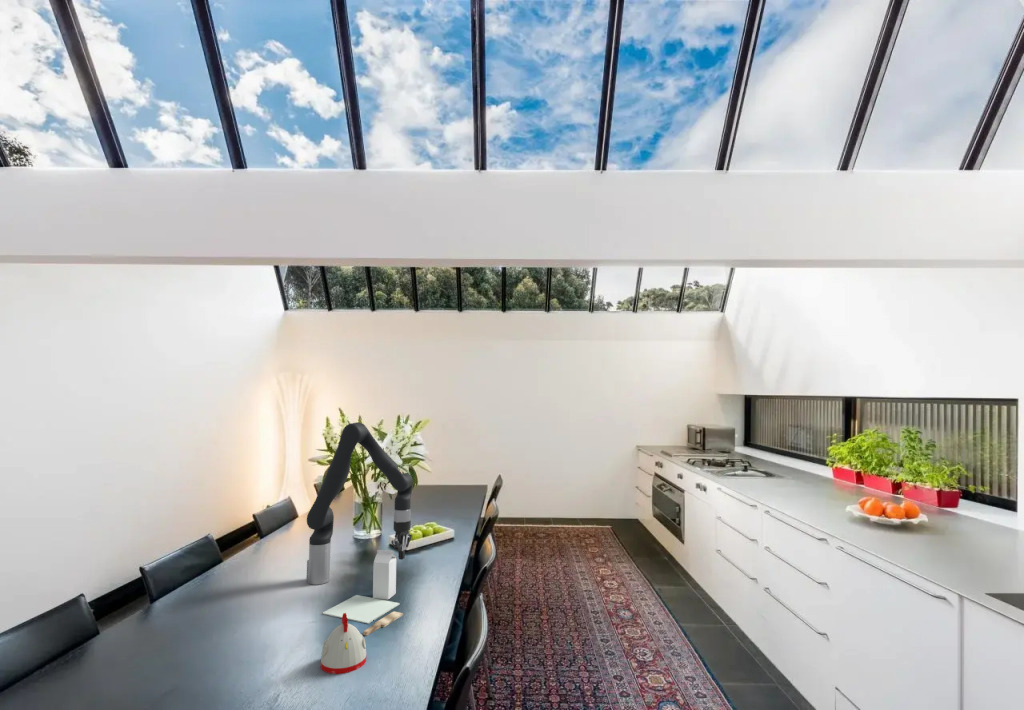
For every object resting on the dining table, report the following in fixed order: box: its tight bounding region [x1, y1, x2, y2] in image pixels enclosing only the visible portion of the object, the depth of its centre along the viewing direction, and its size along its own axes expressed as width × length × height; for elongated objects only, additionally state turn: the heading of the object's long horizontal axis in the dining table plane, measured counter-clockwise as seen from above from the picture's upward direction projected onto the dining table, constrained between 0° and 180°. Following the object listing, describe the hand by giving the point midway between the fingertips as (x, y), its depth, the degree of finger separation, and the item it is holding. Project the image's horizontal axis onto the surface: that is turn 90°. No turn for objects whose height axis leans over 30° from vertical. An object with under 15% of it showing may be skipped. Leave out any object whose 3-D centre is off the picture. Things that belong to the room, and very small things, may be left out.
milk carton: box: [372, 549, 397, 601], centre depth 225 cm, size 7×7×19 cm
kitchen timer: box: [320, 613, 367, 675], centre depth 170 cm, size 14×14×15 cm
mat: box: [321, 594, 401, 625], centre depth 211 cm, size 22×20×1 cm
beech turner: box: [362, 611, 404, 636], centre depth 198 cm, size 20×4×1 cm, turn 157°
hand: (401, 558), depth 237 cm, fingers closed
